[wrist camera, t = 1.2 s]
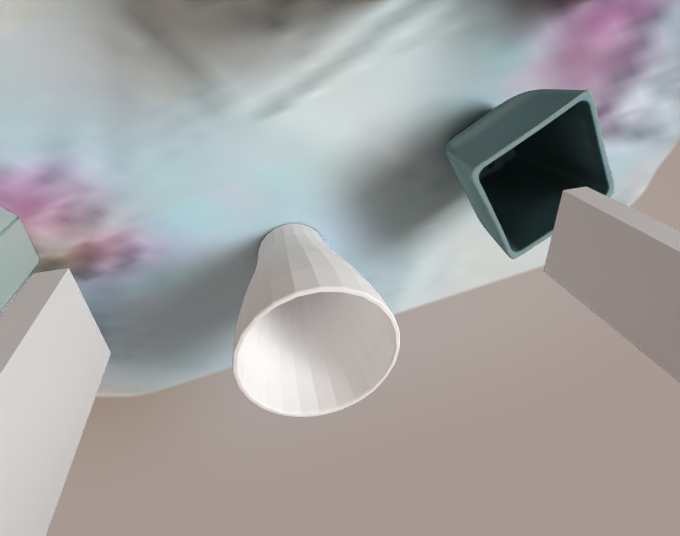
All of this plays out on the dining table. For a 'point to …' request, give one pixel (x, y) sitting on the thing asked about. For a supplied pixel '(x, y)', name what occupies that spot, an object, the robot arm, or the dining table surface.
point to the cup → (310, 329)
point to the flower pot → (530, 163)
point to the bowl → (14, 256)
